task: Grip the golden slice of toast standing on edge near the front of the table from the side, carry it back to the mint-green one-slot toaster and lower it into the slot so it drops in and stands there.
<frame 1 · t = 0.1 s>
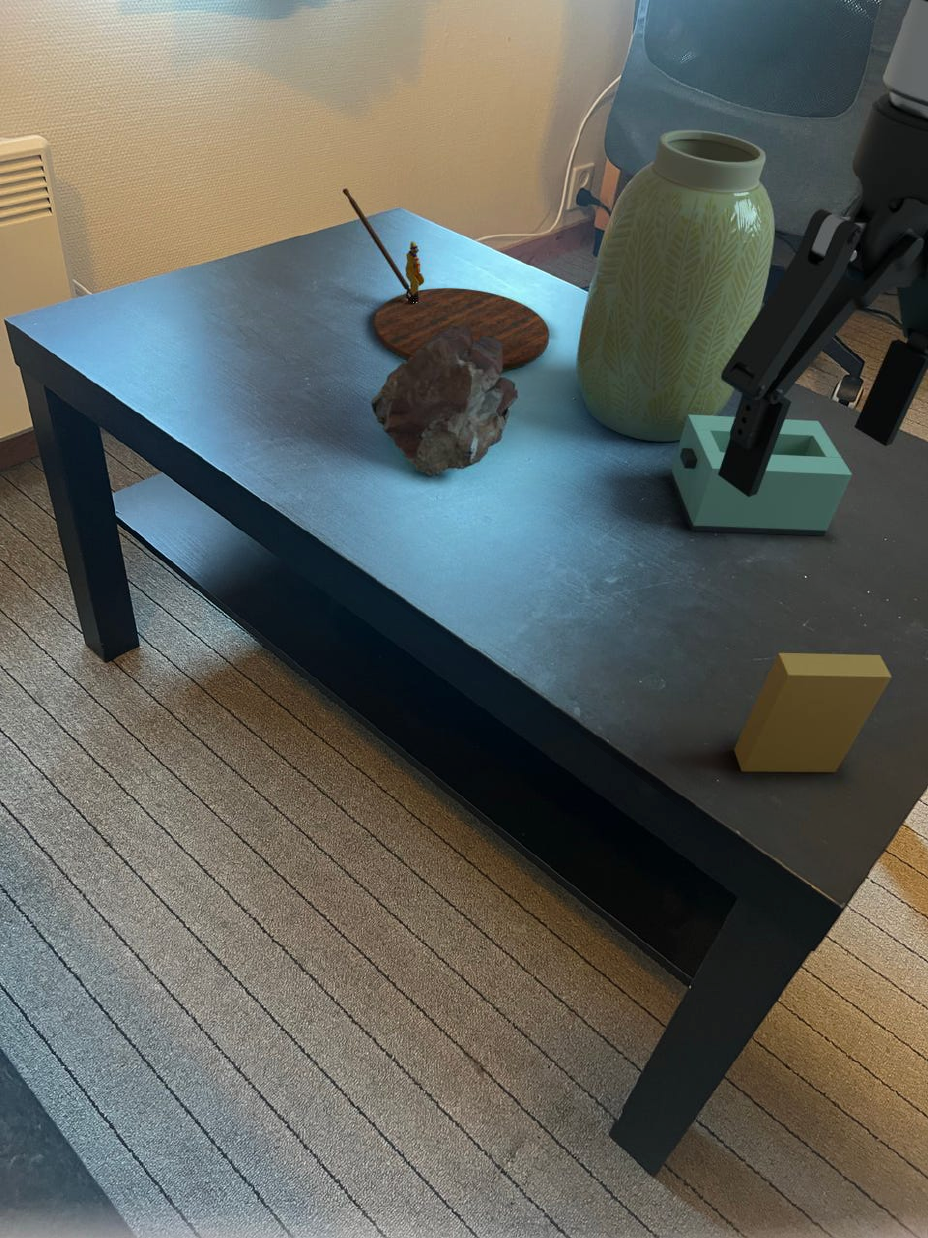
hand: (808, 459, 62), 19 cm above the table, tool pointing down, fingers open, 13 cm apart
toaster: (744, 504, 90), on the table
incense holder: (432, 319, 113), on the table
vase: (644, 411, 102), on the table
toast: (784, 761, 67), on the table
mineral specimen: (450, 442, 94), on the table
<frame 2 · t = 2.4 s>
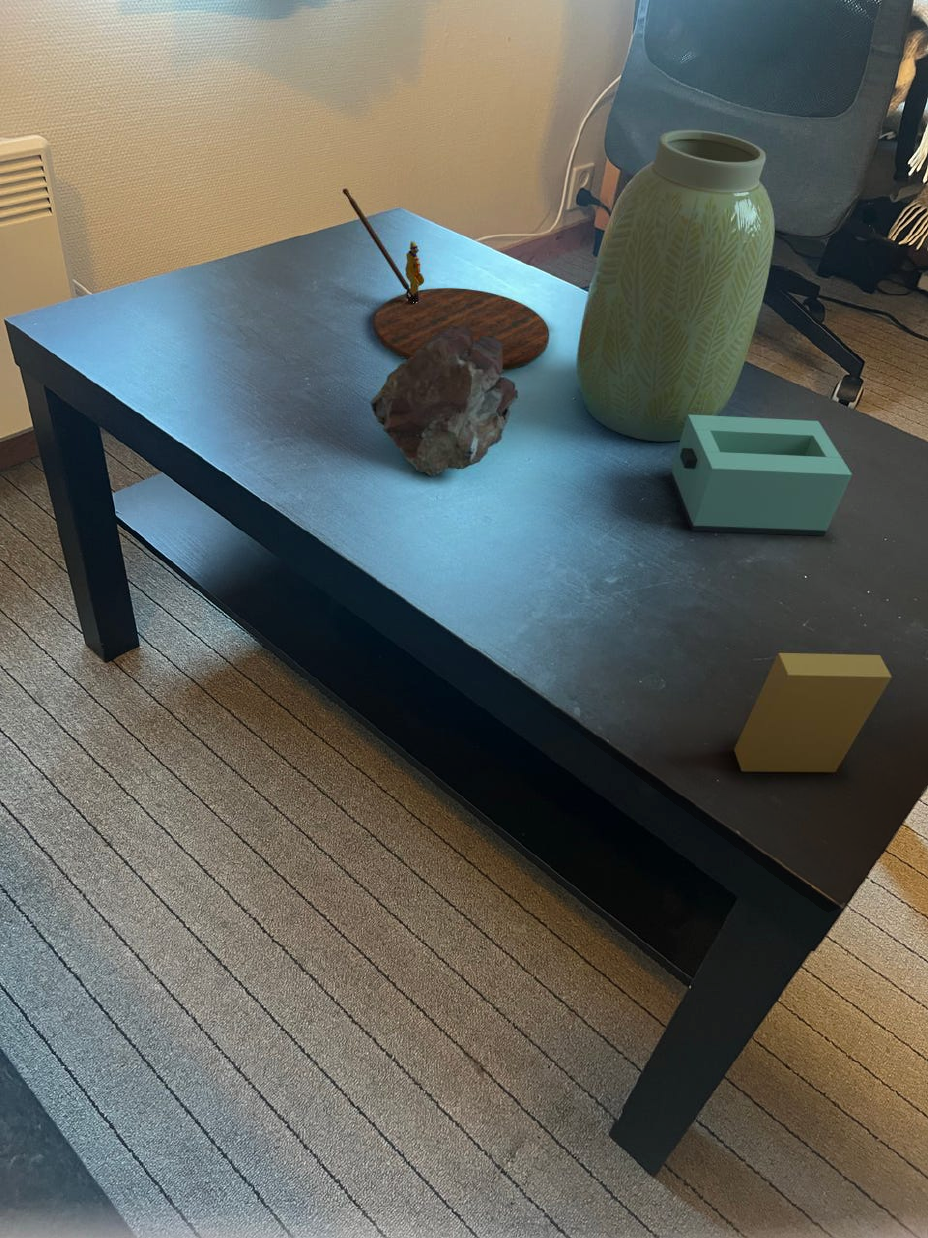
nothing on the table moved.
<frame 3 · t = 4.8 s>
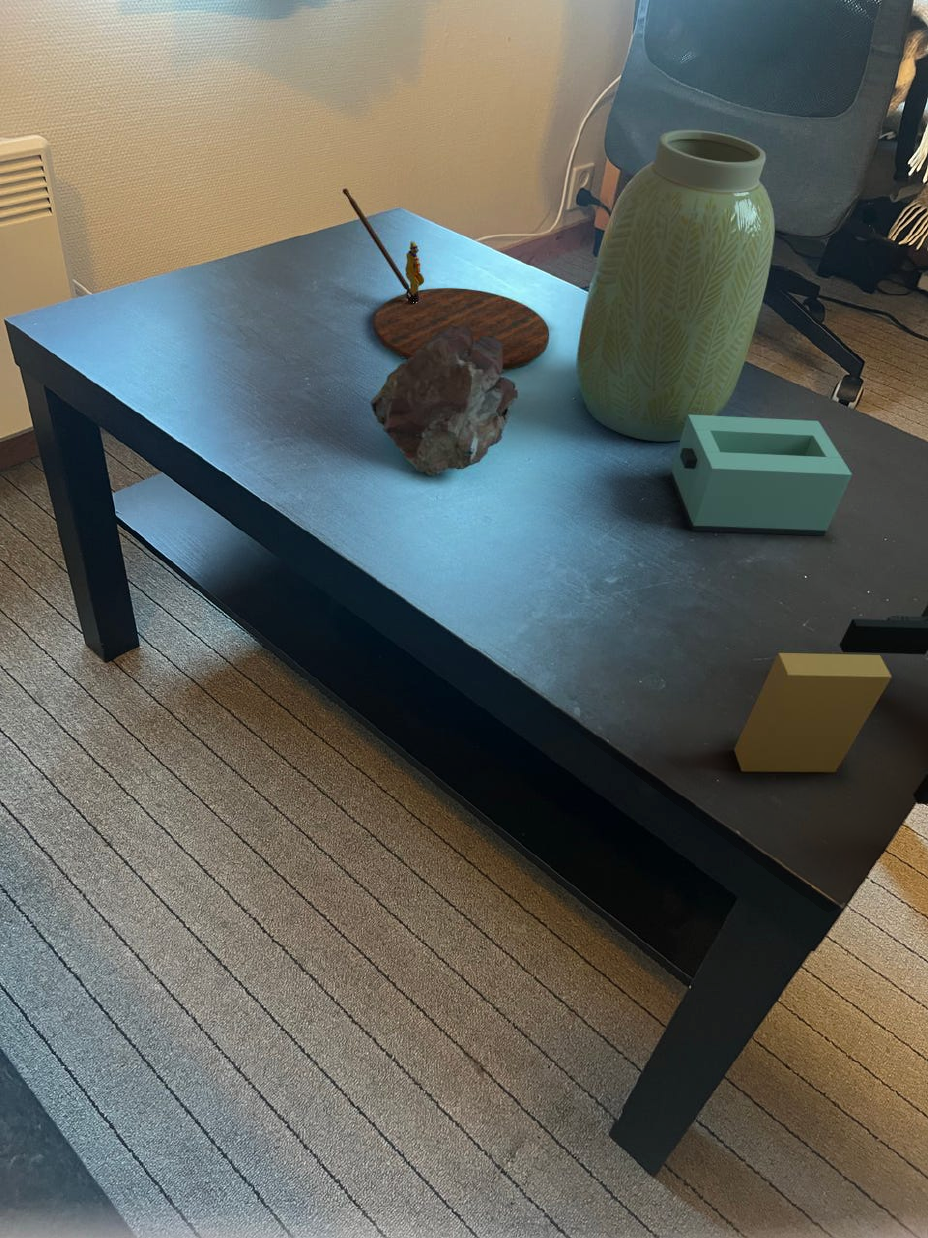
hand: (882, 705, 63), 6 cm above the table, tool horizontal, fingers open, 13 cm apart
nothing on the table moved.
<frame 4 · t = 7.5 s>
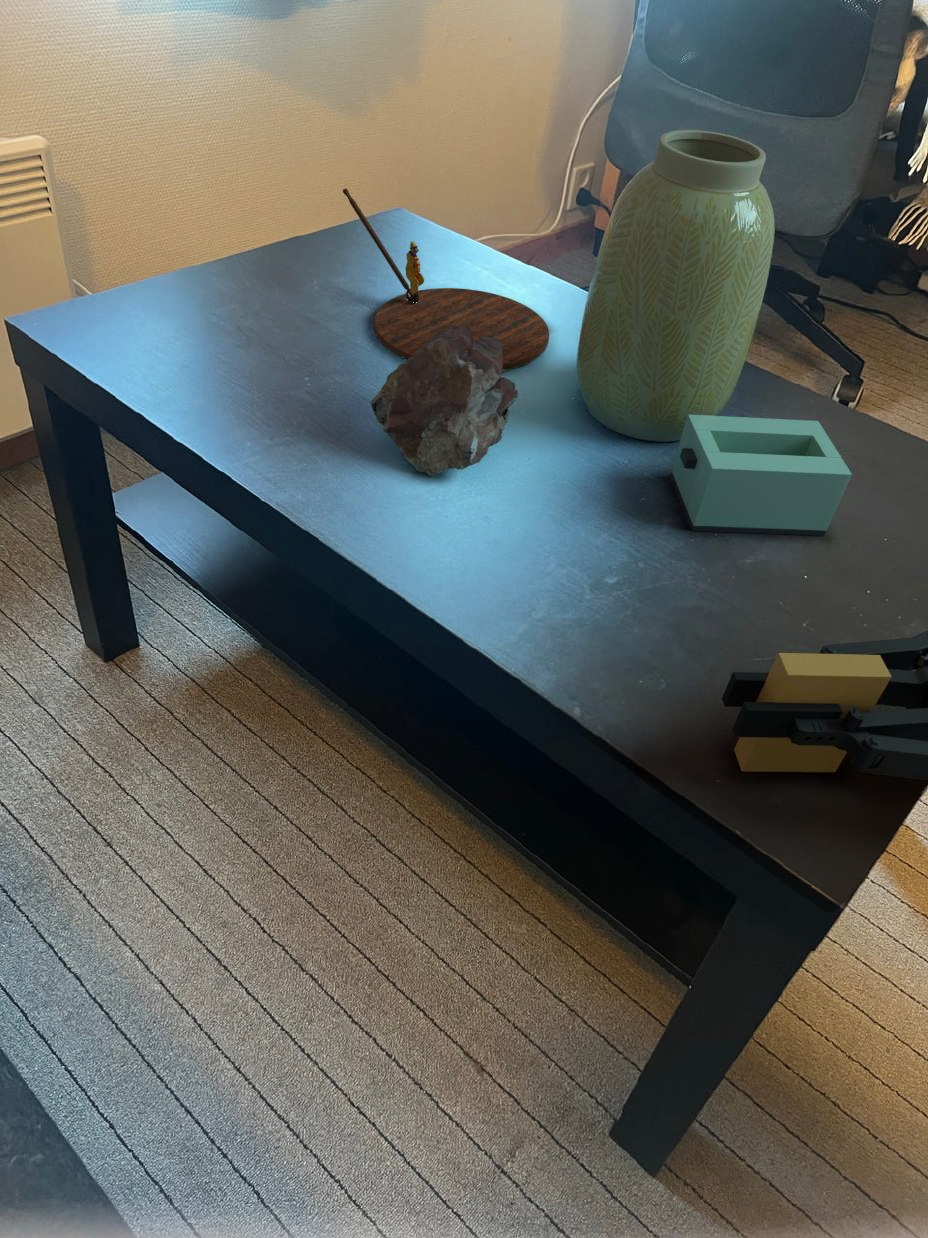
hand: (734, 704, 62), 6 cm above the table, tool horizontal, fingers closed on toast, 2 cm apart
toast: (784, 761, 67), on the table, touching gripper
everything else where it was.
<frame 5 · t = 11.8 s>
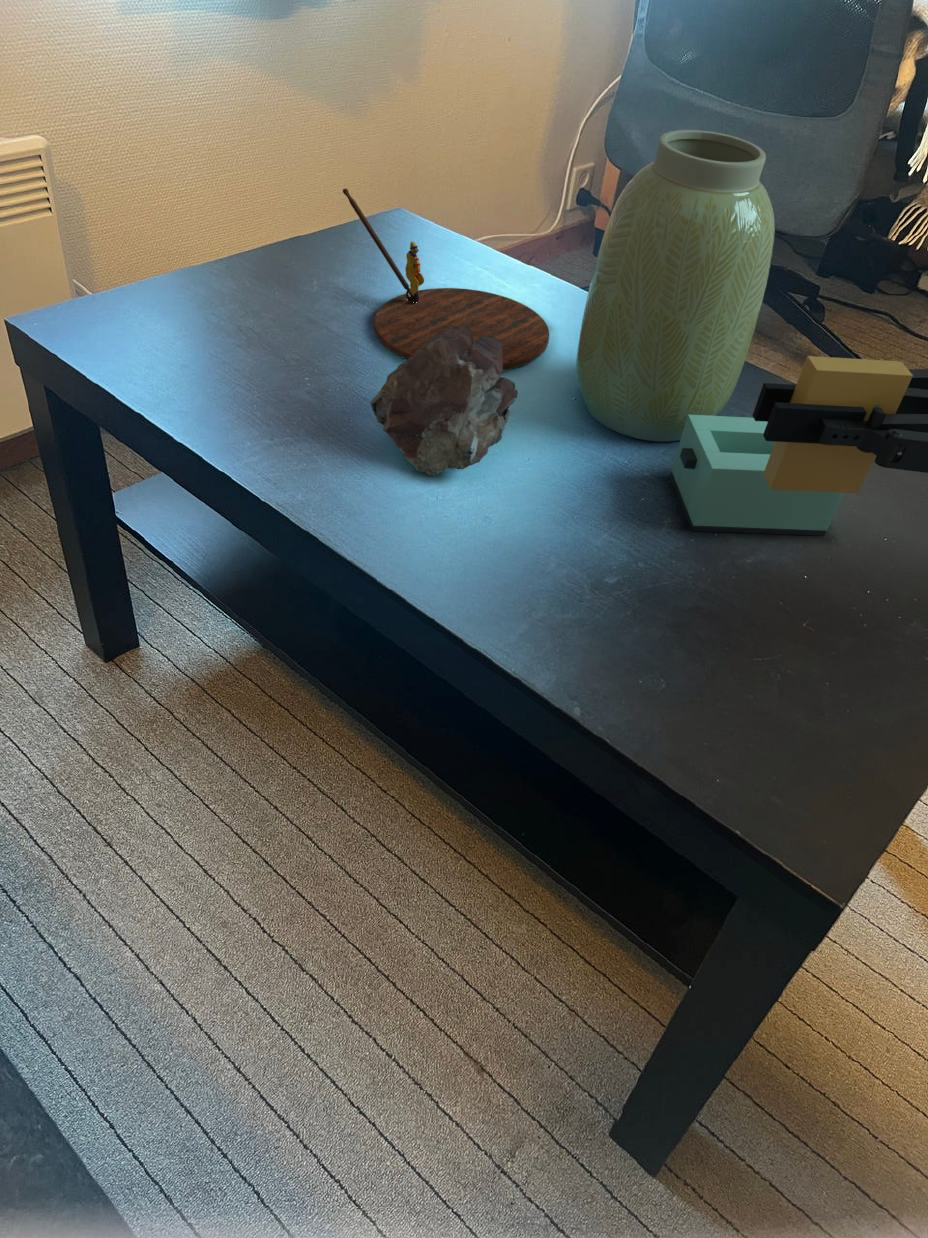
hand: (765, 411, 67), 18 cm above the table, tool horizontal, fingers closed on toast, 2 cm apart
toast: (810, 484, 71), point 12 cm above the table, touching gripper
everything else where it was.
when the fingers open (9 cm above the table, at t = 16.5 s): toast drops 2 cm, resting on toaster.
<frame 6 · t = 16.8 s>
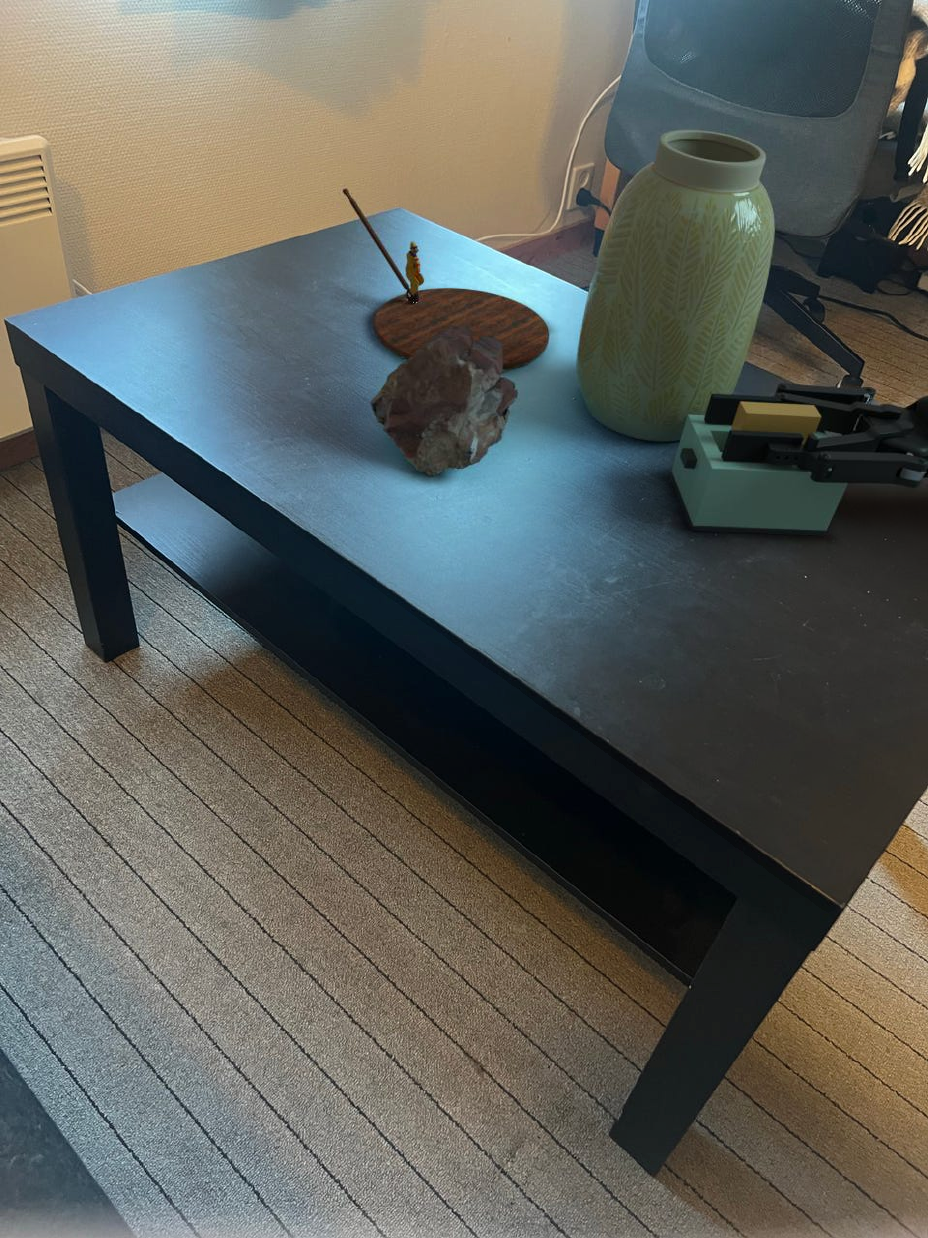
hand: (717, 426, 84), 9 cm above the table, tool horizontal, fingers open, 5 cm apart
toast: (747, 499, 90), point 1 cm above the table, touching toaster
everything else where it was.
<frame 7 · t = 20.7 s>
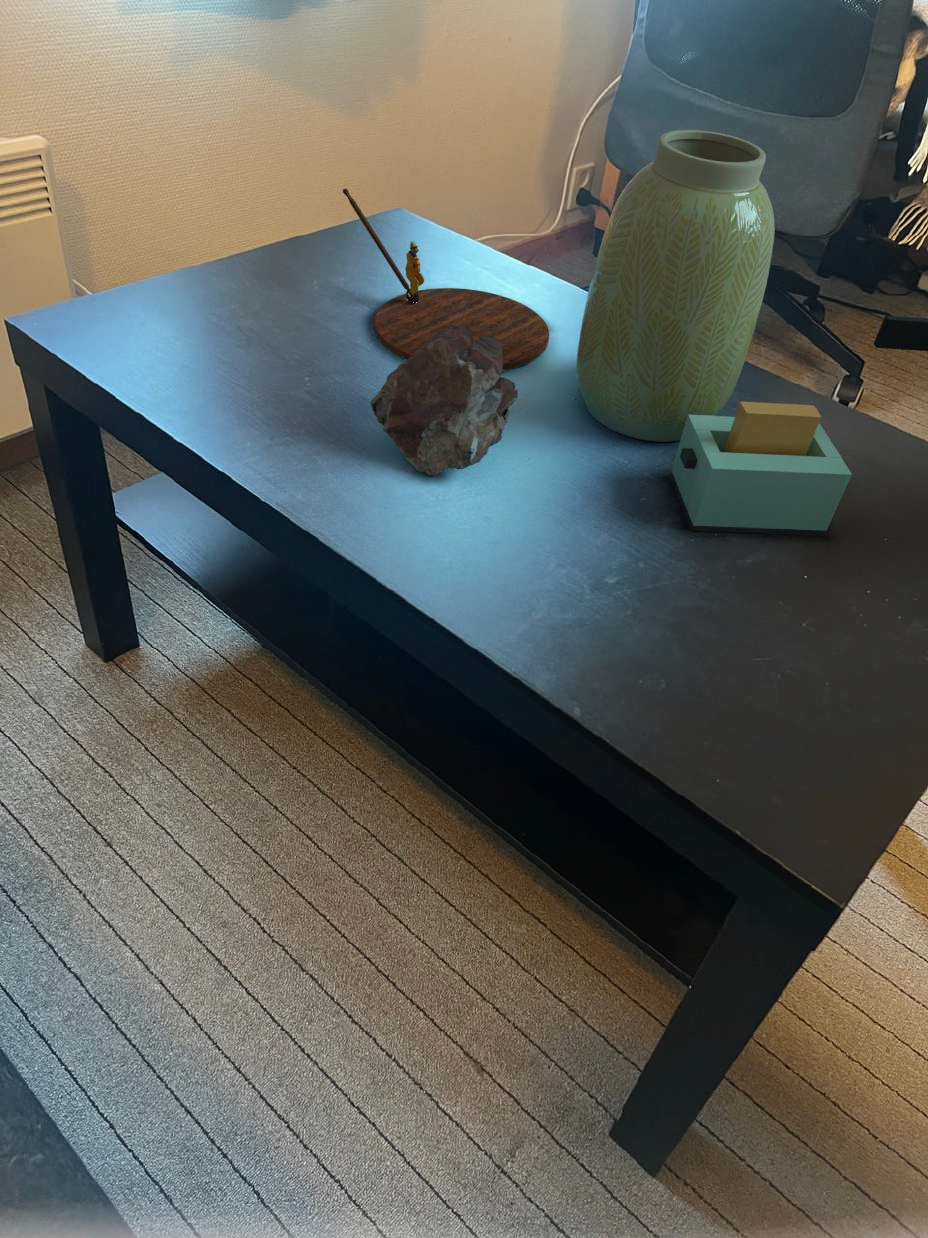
hand: (912, 368, 78), 17 cm above the table, tool horizontal, fingers open, 13 cm apart
nothing on the table moved.
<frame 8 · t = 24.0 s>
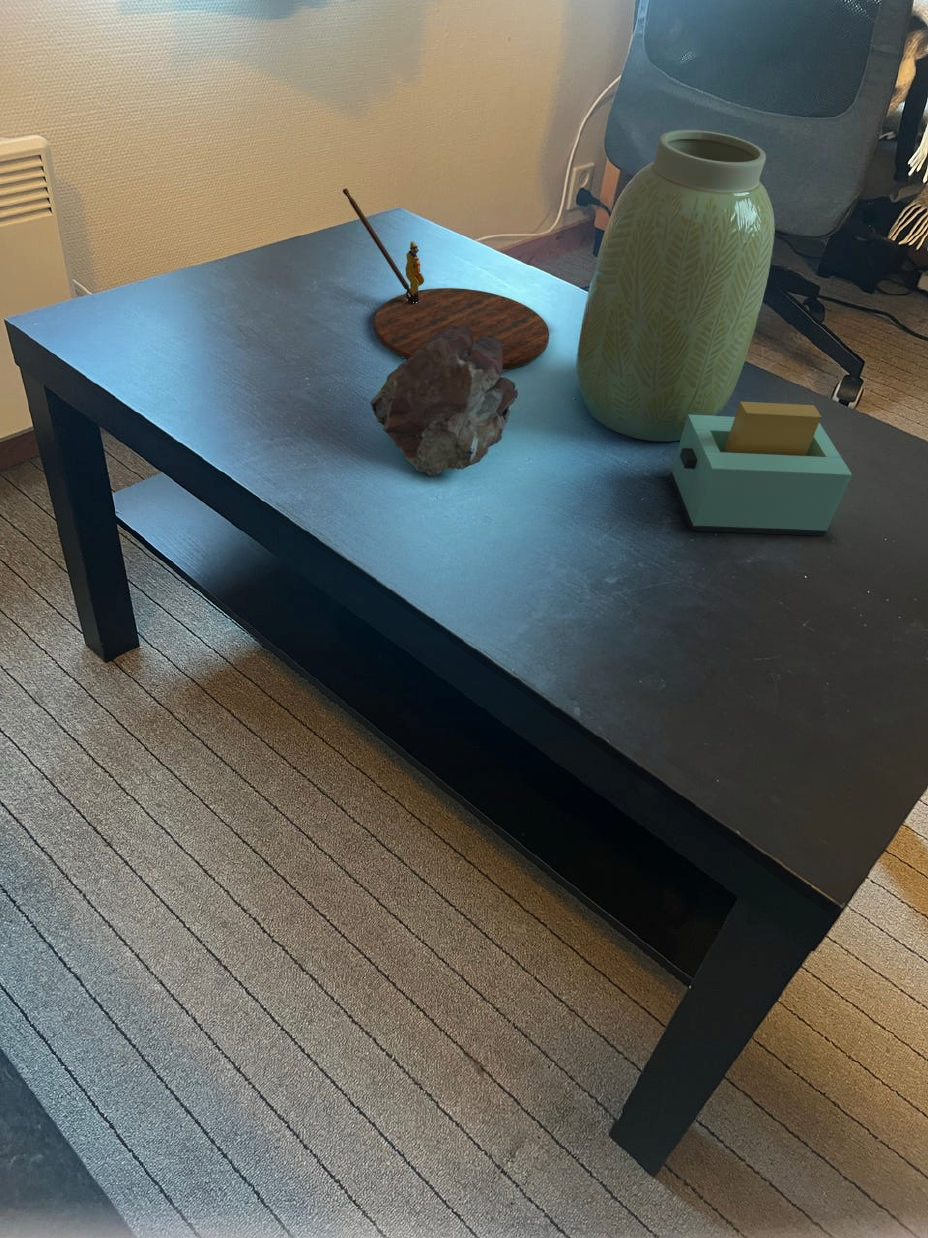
nothing on the table moved.
at the end: toast 0.0 cm off-centre on the toaster, point 0.6 cm above the toaster's base; toast tilted 0°; the gripper is holding nothing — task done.
